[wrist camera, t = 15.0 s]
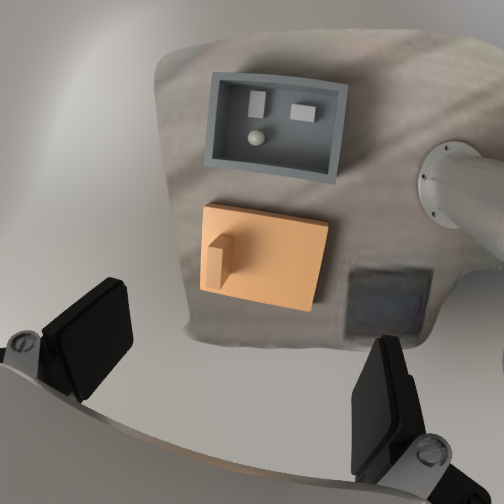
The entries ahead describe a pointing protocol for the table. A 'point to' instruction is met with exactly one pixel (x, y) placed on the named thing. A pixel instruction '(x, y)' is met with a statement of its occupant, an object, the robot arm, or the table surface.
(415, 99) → the table surface
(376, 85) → the table surface
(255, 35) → the table surface
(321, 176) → the tub
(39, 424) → the robot arm
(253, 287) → the lid
